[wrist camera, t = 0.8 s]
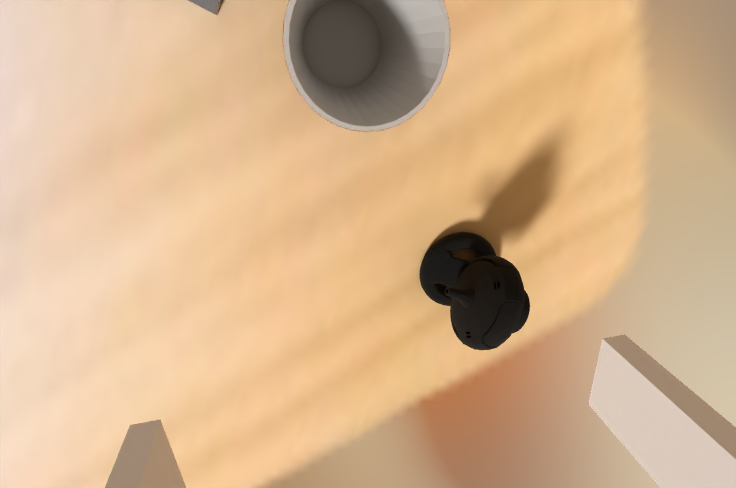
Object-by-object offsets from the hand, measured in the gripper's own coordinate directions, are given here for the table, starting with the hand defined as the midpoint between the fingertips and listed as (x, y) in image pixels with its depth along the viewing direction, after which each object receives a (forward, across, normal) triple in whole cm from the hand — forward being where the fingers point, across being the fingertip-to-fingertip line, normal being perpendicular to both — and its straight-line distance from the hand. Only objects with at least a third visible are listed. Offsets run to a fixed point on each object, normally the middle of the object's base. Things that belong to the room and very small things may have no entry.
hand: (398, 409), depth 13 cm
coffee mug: (+24, +3, +11) cm, 27 cm away
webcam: (+25, +12, -10) cm, 29 cm away
